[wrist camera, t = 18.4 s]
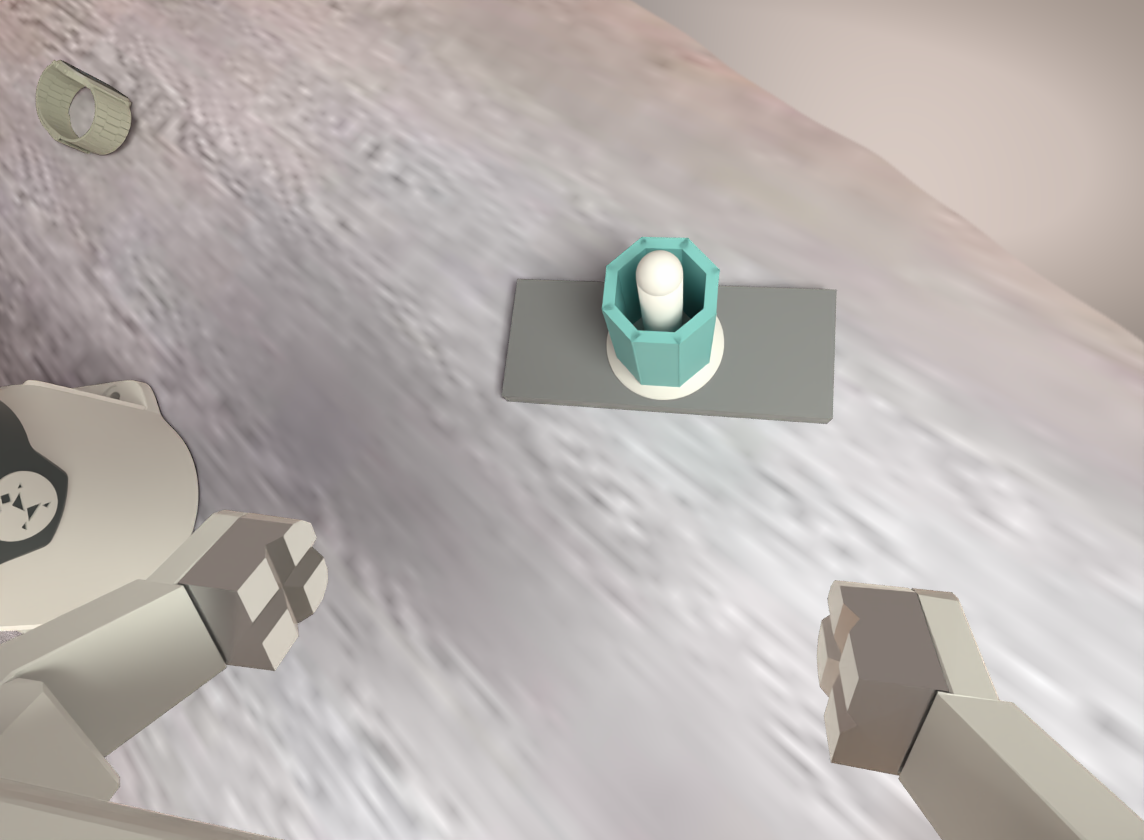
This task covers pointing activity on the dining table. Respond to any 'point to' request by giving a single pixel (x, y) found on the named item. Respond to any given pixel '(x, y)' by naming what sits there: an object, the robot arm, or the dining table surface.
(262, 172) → the dining table surface
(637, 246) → the collar
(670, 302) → the post stand
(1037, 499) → the dining table surface
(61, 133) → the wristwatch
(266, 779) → the dining table surface
